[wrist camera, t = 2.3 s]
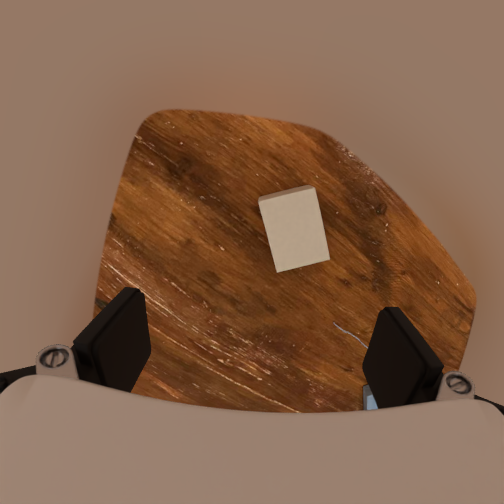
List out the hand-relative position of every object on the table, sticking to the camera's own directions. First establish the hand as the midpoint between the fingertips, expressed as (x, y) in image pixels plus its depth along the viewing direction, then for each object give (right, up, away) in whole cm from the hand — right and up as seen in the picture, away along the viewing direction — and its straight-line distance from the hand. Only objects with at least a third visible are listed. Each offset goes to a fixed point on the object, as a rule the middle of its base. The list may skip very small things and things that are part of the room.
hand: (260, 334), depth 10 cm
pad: (+3, +6, +14) cm, 16 cm away
